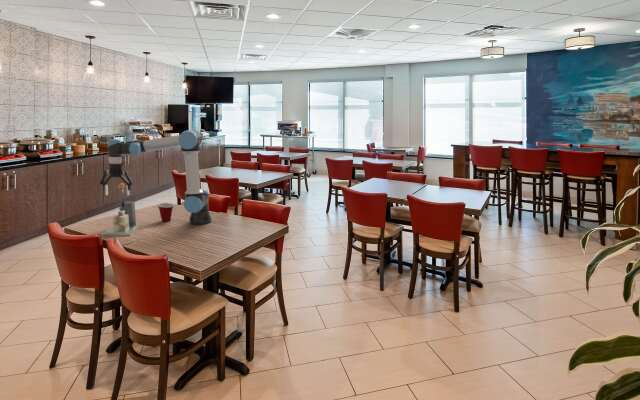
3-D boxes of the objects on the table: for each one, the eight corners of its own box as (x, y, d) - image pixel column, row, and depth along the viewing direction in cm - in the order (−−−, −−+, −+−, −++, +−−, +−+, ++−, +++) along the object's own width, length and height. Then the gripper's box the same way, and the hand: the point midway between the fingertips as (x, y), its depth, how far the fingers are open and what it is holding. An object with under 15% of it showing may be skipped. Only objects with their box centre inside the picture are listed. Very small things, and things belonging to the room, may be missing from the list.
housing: (129, 228, 262) (128, 210, 260) (125, 230, 256) (124, 213, 253) (117, 227, 262) (116, 210, 260) (113, 230, 255) (112, 213, 253)
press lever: (127, 209, 274) (125, 182, 271) (124, 211, 270) (122, 183, 267) (120, 209, 274) (119, 182, 270) (118, 211, 270) (116, 183, 266)
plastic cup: (169, 223, 283) (168, 206, 281) (155, 222, 285) (154, 205, 283) (177, 219, 293) (176, 203, 291) (164, 218, 296) (163, 202, 293)
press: (144, 224, 278) (142, 201, 275) (130, 235, 252) (128, 210, 249) (119, 224, 276) (118, 201, 273) (103, 235, 250) (101, 210, 247)
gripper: (137, 162, 271) (139, 194, 275) (98, 162, 268) (100, 193, 272) (133, 164, 263) (135, 196, 267) (92, 163, 261) (95, 195, 265)
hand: (117, 195), depth 270 cm, fingers open, 13 cm apart
